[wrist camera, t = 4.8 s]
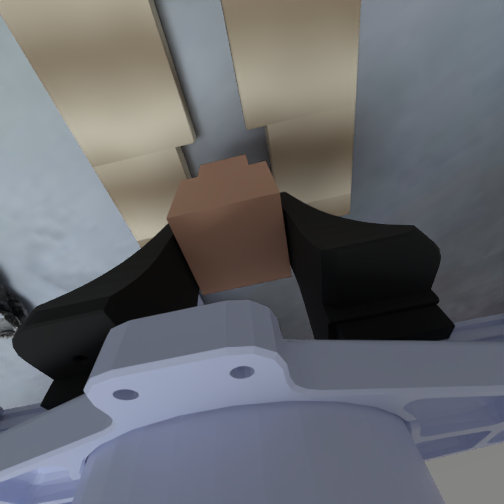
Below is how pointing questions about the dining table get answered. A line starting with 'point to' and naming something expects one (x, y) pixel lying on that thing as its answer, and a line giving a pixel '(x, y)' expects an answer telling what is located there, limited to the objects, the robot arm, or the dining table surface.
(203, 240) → the slider block
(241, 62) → the keyhole board
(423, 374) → the robot arm
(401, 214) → the dining table surface
